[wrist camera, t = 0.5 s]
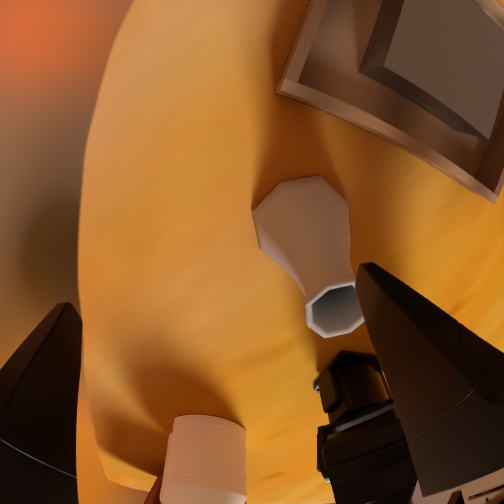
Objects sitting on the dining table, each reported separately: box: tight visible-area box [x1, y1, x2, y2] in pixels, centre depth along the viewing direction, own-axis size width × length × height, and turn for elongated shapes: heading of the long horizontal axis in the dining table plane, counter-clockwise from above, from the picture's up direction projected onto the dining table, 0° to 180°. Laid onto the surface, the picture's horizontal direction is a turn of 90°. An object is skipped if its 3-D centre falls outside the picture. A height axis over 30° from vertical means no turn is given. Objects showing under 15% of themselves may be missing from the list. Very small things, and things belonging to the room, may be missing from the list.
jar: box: [160, 415, 247, 504], centre depth 29 cm, size 12×10×15 cm
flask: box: [252, 175, 364, 338], centre depth 17 cm, size 7×7×10 cm
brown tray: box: [275, 0, 504, 204], centre depth 14 cm, size 18×16×4 cm
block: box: [358, 0, 504, 140], centre depth 13 cm, size 9×9×4 cm
